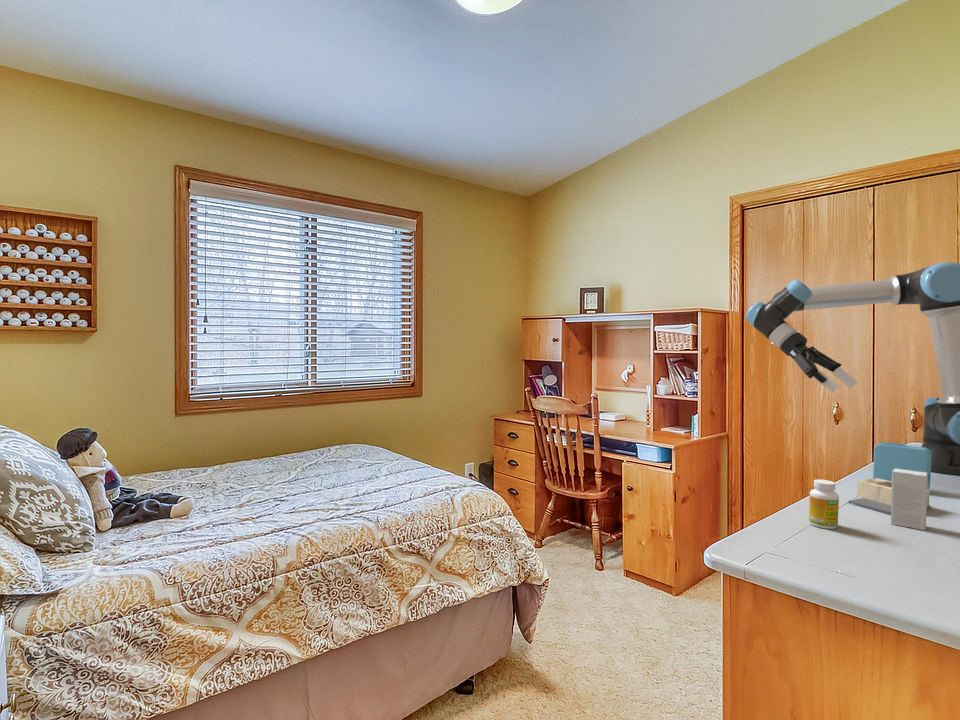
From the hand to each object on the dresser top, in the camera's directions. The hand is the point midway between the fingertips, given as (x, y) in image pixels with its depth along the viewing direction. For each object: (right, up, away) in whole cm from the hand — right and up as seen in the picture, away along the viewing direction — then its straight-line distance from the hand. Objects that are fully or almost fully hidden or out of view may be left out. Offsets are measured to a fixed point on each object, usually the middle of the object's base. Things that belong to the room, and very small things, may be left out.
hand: (844, 387), depth 161 cm
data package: (+8, -28, -11) cm, 31 cm away
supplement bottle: (-33, -29, -42) cm, 61 cm away
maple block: (-8, -25, -20) cm, 33 cm away
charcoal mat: (-7, -28, -27) cm, 39 cm away
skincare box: (-14, -29, -41) cm, 52 cm away
